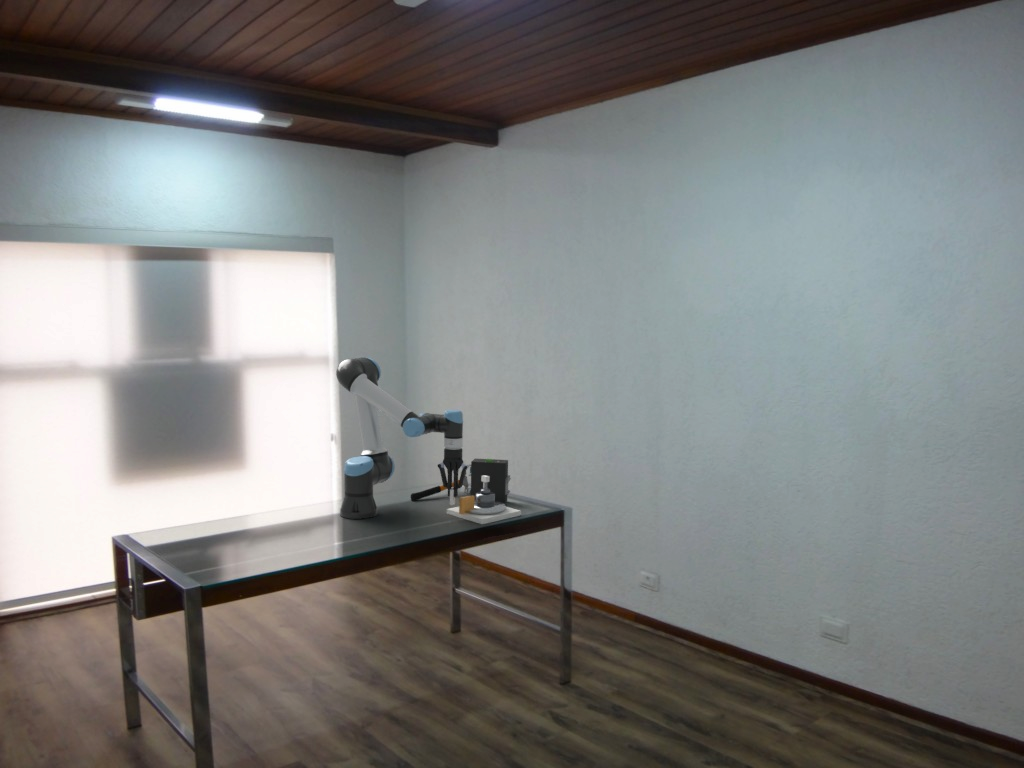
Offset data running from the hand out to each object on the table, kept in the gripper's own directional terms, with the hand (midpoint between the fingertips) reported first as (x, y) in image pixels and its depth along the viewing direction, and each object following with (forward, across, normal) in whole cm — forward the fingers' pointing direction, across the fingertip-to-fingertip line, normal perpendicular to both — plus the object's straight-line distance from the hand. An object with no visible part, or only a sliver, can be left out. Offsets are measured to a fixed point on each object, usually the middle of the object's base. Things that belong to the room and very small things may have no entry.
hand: (452, 504), depth 333 cm
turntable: (+3, +10, +7) cm, 13 cm away
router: (+6, +8, +29) cm, 31 cm away
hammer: (+6, -16, +33) cm, 37 cm away
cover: (+2, +12, +8) cm, 14 cm away
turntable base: (+6, +11, +8) cm, 15 cm away
